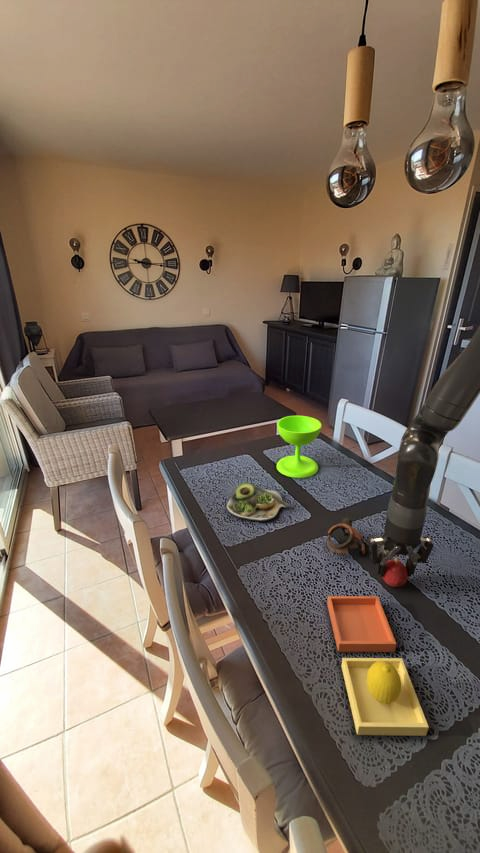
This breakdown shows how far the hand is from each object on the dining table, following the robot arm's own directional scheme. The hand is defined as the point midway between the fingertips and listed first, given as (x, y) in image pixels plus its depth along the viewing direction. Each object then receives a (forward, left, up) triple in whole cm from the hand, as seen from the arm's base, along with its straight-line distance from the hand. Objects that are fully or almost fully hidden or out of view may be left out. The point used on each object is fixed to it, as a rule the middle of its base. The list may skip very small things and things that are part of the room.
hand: (394, 573), depth 85 cm
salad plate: (+33, -32, -4) cm, 46 cm away
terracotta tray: (+11, +11, -4) cm, 16 cm away
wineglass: (+16, -56, -4) cm, 58 cm away
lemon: (+11, +25, -3) cm, 28 cm away
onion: (0, 0, -4) cm, 4 cm away
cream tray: (+11, +25, -4) cm, 28 cm away
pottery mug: (+8, -13, -4) cm, 16 cm away
